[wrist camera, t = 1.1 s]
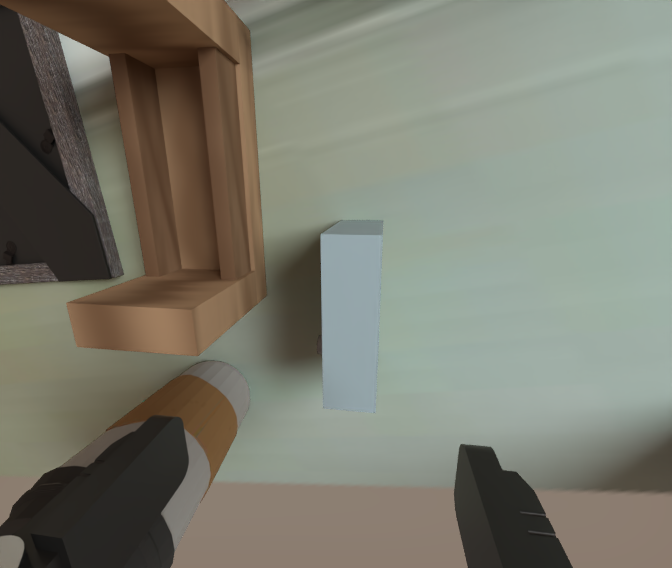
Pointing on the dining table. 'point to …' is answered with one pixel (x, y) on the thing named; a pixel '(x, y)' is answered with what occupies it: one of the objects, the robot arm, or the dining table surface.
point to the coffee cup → (202, 443)
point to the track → (175, 169)
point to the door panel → (350, 314)
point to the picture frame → (46, 166)
